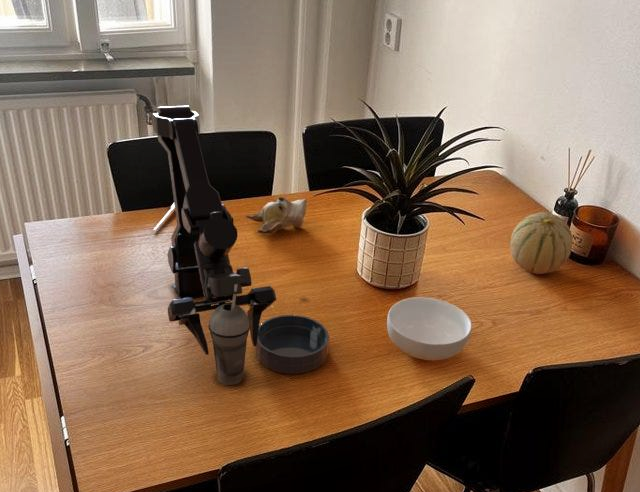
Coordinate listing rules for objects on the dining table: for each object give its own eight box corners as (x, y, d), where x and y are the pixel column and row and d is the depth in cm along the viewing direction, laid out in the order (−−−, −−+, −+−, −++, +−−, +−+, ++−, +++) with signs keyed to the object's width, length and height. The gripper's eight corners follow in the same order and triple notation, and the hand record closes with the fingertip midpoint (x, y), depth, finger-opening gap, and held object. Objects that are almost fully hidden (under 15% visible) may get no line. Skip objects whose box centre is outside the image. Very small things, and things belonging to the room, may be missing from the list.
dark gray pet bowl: (272, 383, 129) (272, 363, 127) (244, 341, 140) (244, 323, 137) (339, 366, 135) (341, 347, 133) (308, 327, 145) (309, 309, 143)
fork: (148, 232, 175) (147, 225, 174) (177, 200, 191) (177, 193, 190) (160, 234, 174) (160, 227, 173) (189, 201, 191) (188, 195, 190)
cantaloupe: (544, 252, 182) (558, 199, 174) (576, 281, 171) (593, 225, 162) (493, 257, 178) (505, 202, 169) (523, 287, 166) (537, 230, 158)
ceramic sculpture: (314, 201, 176) (257, 211, 171) (314, 232, 181) (259, 243, 176) (298, 185, 184) (243, 194, 179) (299, 215, 189) (245, 225, 184)
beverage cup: (211, 365, 133) (208, 273, 121) (250, 365, 133) (251, 274, 122) (208, 389, 127) (205, 295, 115) (249, 390, 127) (249, 296, 116)
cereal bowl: (444, 384, 133) (450, 354, 129) (368, 352, 140) (372, 322, 136) (479, 343, 145) (485, 314, 142) (408, 315, 152) (412, 287, 148)
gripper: (166, 260, 116) (184, 351, 114) (274, 246, 123) (293, 332, 121) (160, 277, 127) (176, 362, 124) (260, 264, 133) (277, 344, 131)
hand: (231, 350), depth 125 cm, fingers open, 8 cm apart
